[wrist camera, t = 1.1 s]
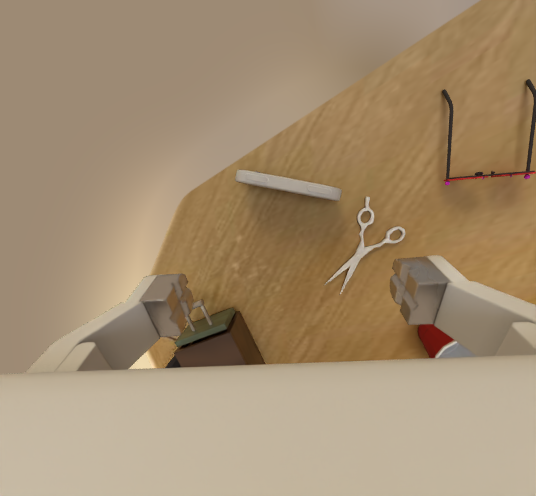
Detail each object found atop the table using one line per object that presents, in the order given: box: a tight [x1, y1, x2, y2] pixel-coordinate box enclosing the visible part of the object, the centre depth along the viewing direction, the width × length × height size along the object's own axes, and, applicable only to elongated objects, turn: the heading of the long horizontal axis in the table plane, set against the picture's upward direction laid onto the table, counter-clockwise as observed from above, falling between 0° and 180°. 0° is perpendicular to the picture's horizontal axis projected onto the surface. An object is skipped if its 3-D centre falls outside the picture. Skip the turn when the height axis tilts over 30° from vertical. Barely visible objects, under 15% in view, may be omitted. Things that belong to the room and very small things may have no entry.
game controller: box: [236, 170, 342, 201], centre depth 45 cm, size 20×2×8 cm, turn 79°
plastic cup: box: [418, 324, 478, 358], centre depth 47 cm, size 11×11×12 cm
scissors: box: [325, 197, 405, 294], centre depth 50 cm, size 11×1×20 cm
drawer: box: [175, 299, 235, 347], centre depth 53 cm, size 19×11×7 cm, turn 24°
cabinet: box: [174, 311, 265, 367], centre depth 53 cm, size 15×13×9 cm
